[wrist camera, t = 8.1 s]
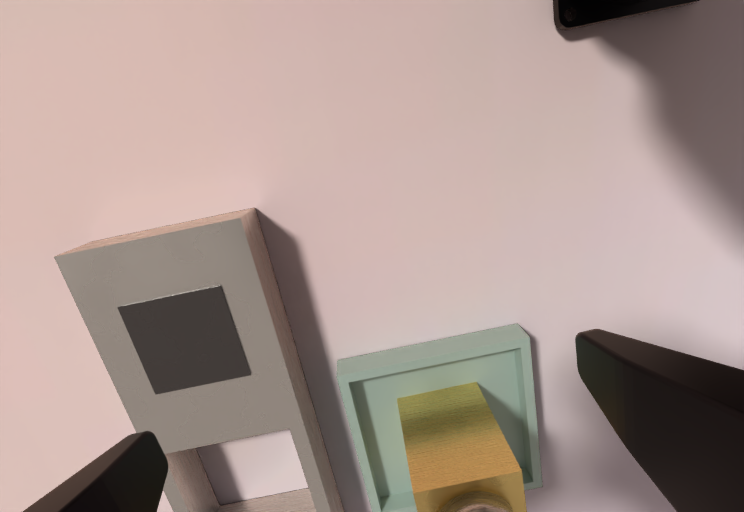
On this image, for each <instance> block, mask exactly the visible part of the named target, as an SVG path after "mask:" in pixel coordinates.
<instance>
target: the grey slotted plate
mask: <svg viewBox="0 0 744 512" xmlns="http://www.w3.org/2000/svg"><path fill="white" fill-rule="evenodd" d="M54 258H55V260H56V262H57V264H58V266H59V269H60V271H61V273H62V275H63V277H64V279H65V281H66V283H67V286H68V288H69V290H70V292H71V294H72V296H73V298H74V300H75V303H76V305H77V307H78V309H79V311H80V313H81V315H82V318H83V320H84V322H85V324H86V326H87V328H88V330H89V332H90V335H91V337H92V339H93V341H94V343H95V345H96V347H97V349H98V352H99V354H100V356H101V358H102V360H103V362H104V364H105V367H106V369H107V371H108V373H109V375H110V377H111V379H112V381H113V384H114V386H115V388H116V390H117V392H118V394H119V396H120V398H121V401H122V403H123V405H124V407H125V409H126V411H127V413H128V416H129V418H130V420H131V422H132V424H133V426H134V428H135V430H136V433H140V432H144V431H151V432H152V433H154V434H155V436H156V438H157V440H158V442H159V444H160V446H161V448H162V450H163V452H164V454H165V456H166V458H167V460H168V474H167V477H166V481H165V484H164V488H163V490H164V492H165V494H166V496H167V499H168V501H169V503H170V505H171V507H172V509H173V511H174V512H344V510H343V506H342V503H341V499H340V496H339V493H338V489H337V486H336V482H335V479H334V476H333V472H332V469H331V465H330V462H329V459H328V455H327V452H326V448H325V445H324V441H323V438H322V435H321V431H320V428H319V424H318V421H317V418H316V414H315V411H314V407H313V404H312V401H311V397H310V394H309V390H308V387H307V384H306V380H305V377H304V373H303V370H302V367H301V363H300V360H299V356H298V353H297V350H296V346H295V343H294V339H293V336H292V333H291V329H290V326H289V322H288V319H287V316H286V312H285V309H284V305H283V302H282V299H281V295H280V292H279V288H278V285H277V281H276V278H275V275H274V271H273V268H272V264H271V261H270V258H269V254H268V251H267V247H266V244H265V241H264V237H263V234H262V230H261V227H260V224H259V220H258V217H257V213H256V210H255V208H250V209H246V210H241V211H236V212H231V213H226V214H222V215H217V216H212V217H207V218H202V219H198V220H193V221H188V222H183V223H178V224H174V225H169V226H164V227H159V228H154V229H150V230H145V231H140V232H135V233H130V234H126V235H121V236H116V237H111V238H106V239H102V240H97V241H92V242H90V243H87V244H85V245H82V246H80V247H77V248H74V249H72V250H69V251H67V252H64V253H62V254H59V255H57V256H54ZM286 429H290V431H291V435H292V438H293V441H294V444H295V447H296V450H297V453H298V456H299V459H300V462H301V466H302V469H303V472H304V475H305V478H306V481H307V484H308V487H309V488H306V489H301V490H296V491H291V492H286V493H281V494H276V495H271V496H266V497H261V498H256V499H251V500H246V501H241V502H236V503H231V504H226V505H221V506H220V505H219V503H218V501H217V498H216V496H215V494H214V491H213V489H212V486H211V484H210V482H209V479H208V477H207V474H206V472H205V470H204V467H203V465H202V463H201V460H200V458H199V455H198V453H197V451H196V448H197V447H202V446H207V445H212V444H217V443H222V442H227V441H232V440H236V439H241V438H246V437H251V436H256V435H261V434H266V433H271V432H276V431H281V430H286Z"/></svg>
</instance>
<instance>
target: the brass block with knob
mask: <svg viewBox="0 0 744 512" xmlns="http://www.w3.org/2000/svg"><path fill="white" fill-rule="evenodd" d="M397 403H398V409H399V415H400V421H401V426H402V432H403V438H404V444H405V450H406V455H407V461H408V467H409V473H410V479H411V484H412V490H413V495H414V500H415V504H416V508H417V512H527V510H526V502H525V493H524V485H523V476H522V470H521V468H520V466H519V464H518V462H517V460H516V458H515V456H514V455H513V453H512V451H511V449H510V447H509V445H508V443H507V441H506V439H505V437H504V435H503V433H502V431H501V429H500V427H499V425H498V423H497V421H496V419H495V417H494V415H493V413H492V412H491V410H490V408H489V406H488V404H487V402H486V400H485V398H484V396H483V394H482V392H481V390H480V388H479V386H478V384H477V382H473V383H468V384H463V385H458V386H453V387H449V388H444V389H439V390H434V391H430V392H425V393H420V394H415V395H411V396H406V397H401V398H397Z"/></svg>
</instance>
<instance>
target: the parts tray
mask: <svg viewBox="0 0 744 512" xmlns="http://www.w3.org/2000/svg"><path fill="white" fill-rule="evenodd" d="M337 380H338V384H339V388H340V391H341V395H342V399H343V403H344V407H345V410H346V414H347V418H348V422H349V425H350V429H351V433H352V437H353V441H354V444H355V448H356V452H357V456H358V459H359V463H360V467H361V471H362V475H363V478H364V482H365V486H366V490H367V493H368V497H369V501H370V505H371V509H372V512H417V508H416V504H415V500H414V495H413V490H412V484H411V479H410V473H409V467H408V461H407V455H406V450H405V444H404V438H403V432H402V426H401V421H400V415H399V409H398V403H397V398H401V397H406V396H411V395H415V394H420V393H425V392H430V391H434V390H439V389H444V388H449V387H453V386H458V385H463V384H468V383H473V382H477V384H478V386H479V388H480V390H481V392H482V394H483V396H484V398H485V400H486V402H487V404H488V406H489V408H490V410H491V412H492V413H493V415H494V417H495V419H496V421H497V423H498V425H499V427H500V429H501V431H502V433H503V435H504V437H505V439H506V441H507V443H508V445H509V447H510V449H511V451H512V453H513V455H514V456H515V458H516V460H517V462H518V464H519V466H520V468H521V470H522V476H523V485H524V491H525V490H530V489H535V488H540V487H543V485H542V474H541V463H540V451H539V440H538V428H537V417H536V405H535V394H534V382H533V371H532V359H531V348H530V337H529V336H528V335H527V334H526V333H525V331H524V330H523V329H522V328H521V327H520V326H519V325H518V324H513V325H508V326H503V327H498V328H493V329H488V330H483V331H478V332H474V333H469V334H464V335H459V336H454V337H449V338H444V339H439V340H434V341H429V342H425V343H420V344H415V345H410V346H405V347H400V348H395V349H390V350H385V351H380V352H375V353H371V354H366V355H361V356H356V357H351V358H346V359H341V360H338V361H337Z"/></svg>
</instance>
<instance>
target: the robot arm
mask: <svg viewBox="0 0 744 512" xmlns="http://www.w3.org/2000/svg"><path fill="white" fill-rule="evenodd" d="M697 1H699V0H553V10H554V22H555V25H556V26H557V28H559V29H561V30H569V29H574V28H578V27H583V26H588V25H593V24H597V23H602V22H607V21H611V20H616V19H621V18H626V17H630V16H635V15H640V14H645V13H649V12H654V11H659V10H663V9H668V8H673V7H678V6H682V5H687V4H692V3H694V2H697ZM565 11H569V12H570V13H571V20H570V21H567V20H566V19H565V16H564V15H565ZM575 342H576V354H577V367H578V371H579V374H580V377H581V379H582V380H583V382H584V384H585V385H586V387H587V388H588V390H589V391H590V393H591V394H592V396H593V397H594V399H595V401H596V402H597V404H598V405H599V407H600V408H601V410H602V411H603V413H604V415H605V416H606V418H607V419H608V421H609V422H610V424H611V425H612V427H613V428H614V430H615V432H616V433H617V435H618V436H619V438H620V439H621V441H622V442H623V443H624V445H625V446H626V448H627V449H628V450H629V452H630V453H631V454H632V456H633V457H634V458H635V460H636V461H637V462H638V463H639V465H640V466H641V467H642V468H643V470H644V471H645V472H646V473H647V475H648V476H649V477H650V478H651V480H652V481H653V482H654V483H655V485H656V486H657V487H658V488H659V490H660V491H661V492H662V493H663V495H664V496H665V497H666V498H667V500H668V501H669V502H670V503H671V505H672V506H673V507H674V509H675V510H676V511H677V512H744V370H741V369H738V368H734V367H731V366H727V365H724V364H720V363H716V362H713V361H709V360H706V359H702V358H699V357H695V356H692V355H688V354H685V353H681V352H678V351H674V350H671V349H667V348H664V347H660V346H657V345H653V344H650V343H646V342H642V341H639V340H635V339H632V338H628V337H625V336H621V335H618V334H614V333H611V332H607V331H604V330H600V329H593V330H588V331H584V332H580V333H578V334H577V335H576V339H575ZM167 474H168V460H167V458H166V456H165V454H164V452H163V450H162V448H161V446H160V444H159V442H158V440H157V438H156V436H155V434H154V433H152V432H151V431H144V432H140V433H135V434H131V435H129V436H127V437H126V438H124V439H123V440H122V441H120V442H119V443H117V444H116V445H115V446H113V447H112V448H110V449H109V450H108V451H106V452H105V453H103V454H102V455H101V456H99V457H98V458H96V459H95V460H94V461H92V462H91V463H90V464H88V465H87V466H85V467H84V468H83V469H81V470H80V471H78V472H77V473H76V474H74V475H73V476H71V477H70V478H69V479H67V480H66V481H65V482H63V483H62V484H60V485H59V486H58V487H56V488H55V489H53V490H52V491H51V492H49V493H48V494H46V495H45V496H44V497H42V498H41V499H39V500H38V501H37V502H35V503H34V504H33V505H31V506H30V507H28V508H27V509H26V510H24V511H23V512H157V508H158V505H159V501H160V498H161V495H162V491H163V488H164V484H165V481H166V477H167Z"/></svg>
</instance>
